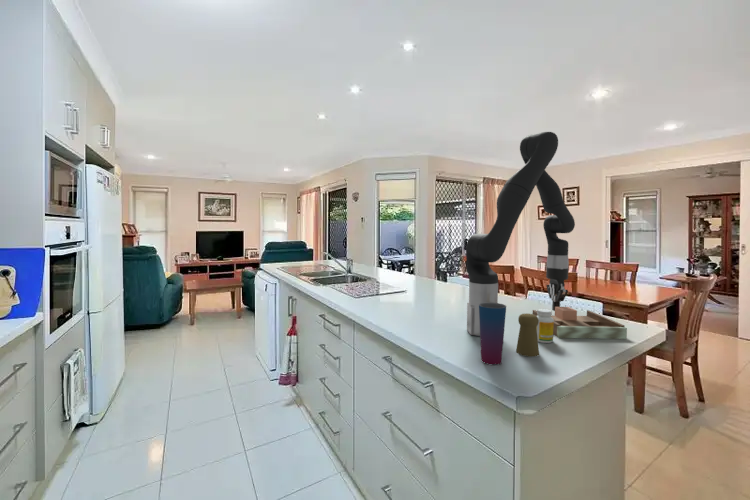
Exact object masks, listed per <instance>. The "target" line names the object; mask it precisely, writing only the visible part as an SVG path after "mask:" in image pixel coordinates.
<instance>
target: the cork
mask: <svg viewBox="0 0 750 500" xmlns="http://www.w3.org/2000/svg"><path fill="white" fill-rule="evenodd" d="M538 323H539V320H538V317H537V316H536V315H533V313H521V314H519V316H518V324H519V331H518V335H517V336H518V337H517V343H516V350H515V352H516V353H517V354H518V355H520V356H523V357H531V358H532V357H533V358H534V357H538V356H540V350H539V342H538V338H537V330H536V326H537V325H538Z"/></svg>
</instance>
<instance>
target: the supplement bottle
mask: <svg viewBox="0 0 750 500" xmlns="http://www.w3.org/2000/svg"><path fill="white" fill-rule="evenodd" d="M536 311H537V314H538V316H537V317H538V320H539V323H538V325H537V326H536V330H537V338H538V343H542V344H543V343H544V344H551V343H553V342H554V335H553V326H554V320H553V318H552V317H550V316H553V315H552V313H553V312H552V311H553V310H550V309H546V308H545V309H544V308H538V309H537V310H536Z"/></svg>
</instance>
